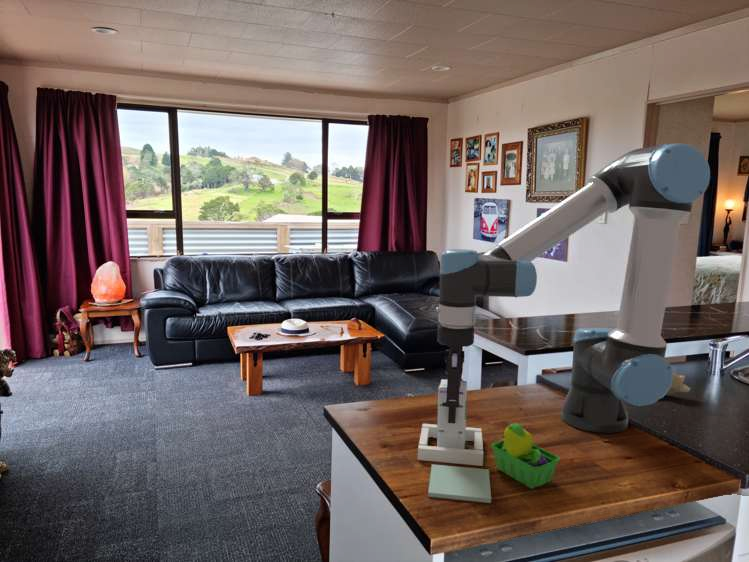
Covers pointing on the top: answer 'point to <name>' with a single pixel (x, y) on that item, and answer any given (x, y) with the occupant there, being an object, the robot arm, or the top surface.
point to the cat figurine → (678, 384)
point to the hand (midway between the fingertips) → (451, 424)
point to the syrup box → (442, 396)
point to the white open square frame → (451, 453)
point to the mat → (460, 483)
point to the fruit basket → (523, 457)
